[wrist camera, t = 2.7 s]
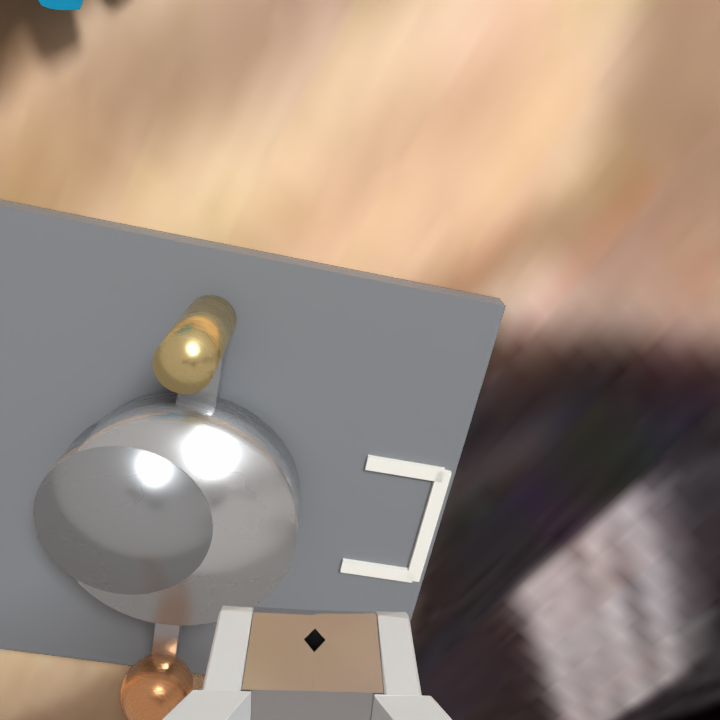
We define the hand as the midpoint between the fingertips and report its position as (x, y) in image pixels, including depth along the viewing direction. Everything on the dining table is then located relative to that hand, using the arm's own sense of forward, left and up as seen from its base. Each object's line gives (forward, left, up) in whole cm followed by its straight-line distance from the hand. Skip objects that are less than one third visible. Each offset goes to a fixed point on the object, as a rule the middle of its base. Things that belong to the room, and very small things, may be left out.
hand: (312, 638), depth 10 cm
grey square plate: (+4, +7, -16) cm, 18 cm away
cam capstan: (+5, +8, -14) cm, 17 cm away
